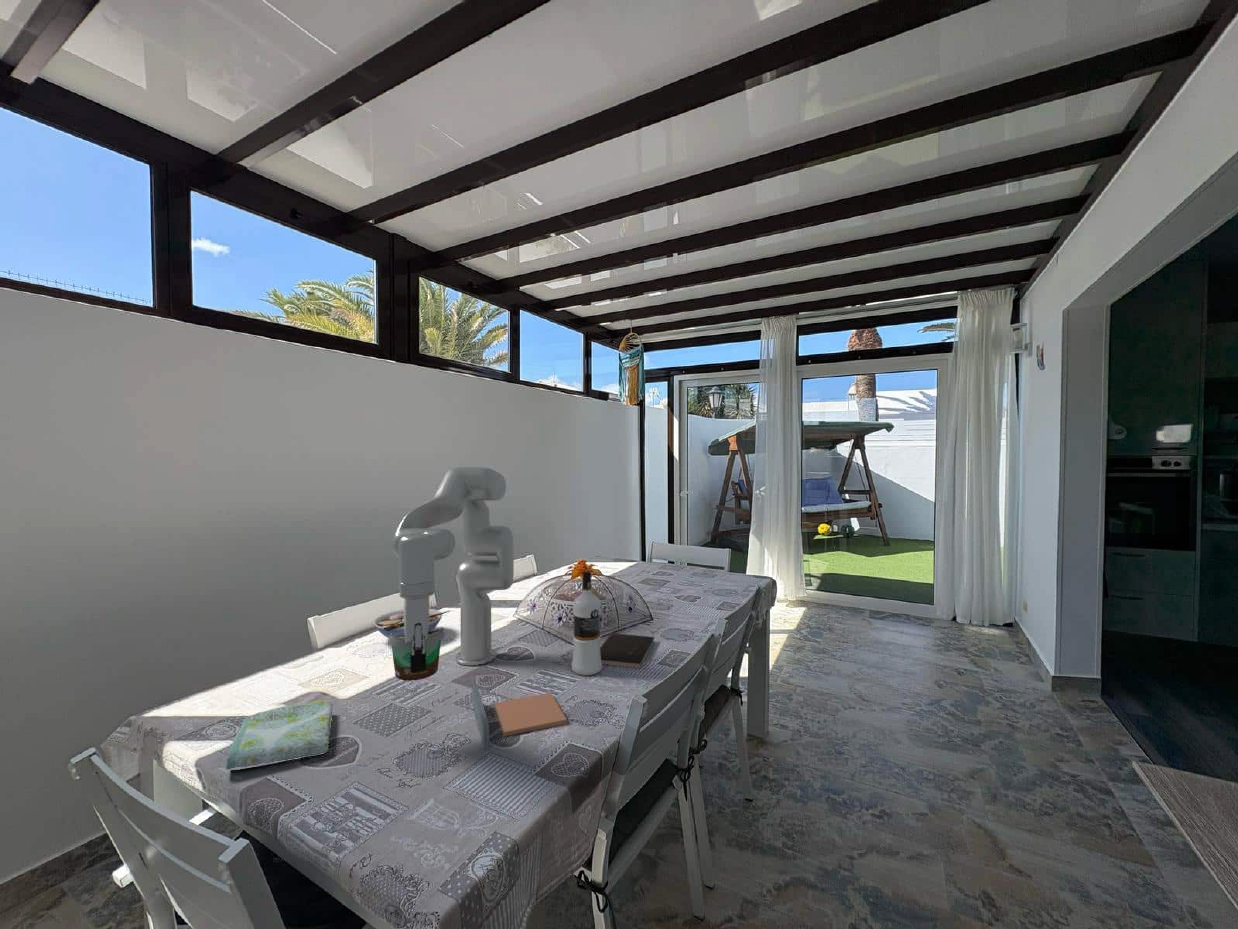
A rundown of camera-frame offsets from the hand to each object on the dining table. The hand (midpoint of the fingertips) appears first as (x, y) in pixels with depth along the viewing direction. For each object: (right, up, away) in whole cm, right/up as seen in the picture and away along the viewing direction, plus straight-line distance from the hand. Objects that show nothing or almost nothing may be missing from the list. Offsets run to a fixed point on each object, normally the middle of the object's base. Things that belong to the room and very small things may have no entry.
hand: (418, 665), depth 118 cm
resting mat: (+24, -16, +10) cm, 31 cm away
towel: (-29, -17, -2) cm, 34 cm away
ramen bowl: (-29, -16, +64) cm, 72 cm away
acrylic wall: (+13, -16, +5) cm, 21 cm away
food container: (0, -3, 0) cm, 3 cm away
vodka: (+37, -16, +37) cm, 54 cm away
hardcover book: (+48, -17, +51) cm, 72 cm away
